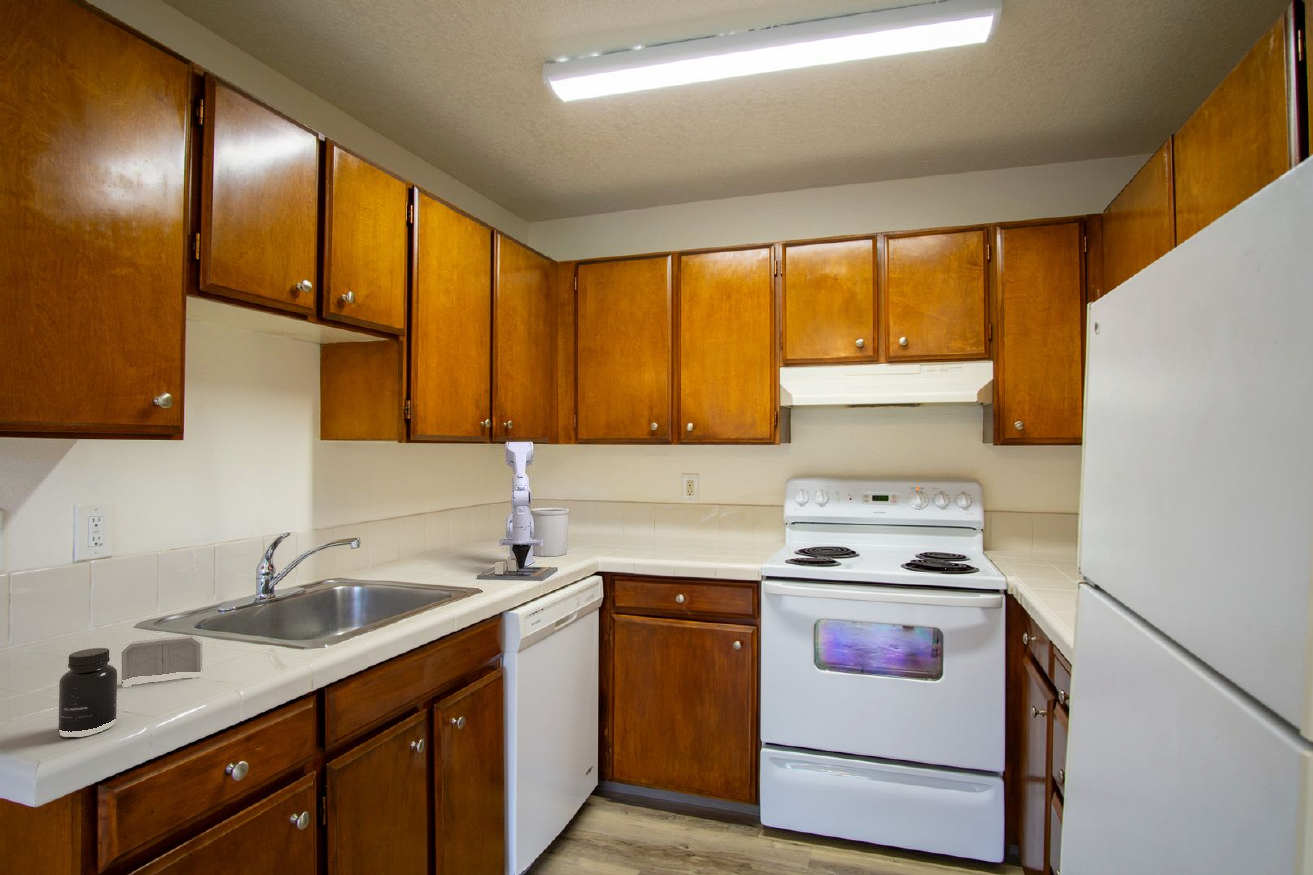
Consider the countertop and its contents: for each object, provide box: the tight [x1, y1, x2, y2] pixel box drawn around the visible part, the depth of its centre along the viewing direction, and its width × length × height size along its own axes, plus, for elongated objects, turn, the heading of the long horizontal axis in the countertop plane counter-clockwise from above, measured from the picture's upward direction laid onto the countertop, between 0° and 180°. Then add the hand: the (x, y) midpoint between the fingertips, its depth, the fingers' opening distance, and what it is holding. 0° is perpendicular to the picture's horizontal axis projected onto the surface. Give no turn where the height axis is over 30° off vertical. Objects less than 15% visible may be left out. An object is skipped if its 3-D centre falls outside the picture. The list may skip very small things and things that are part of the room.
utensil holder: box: [530, 507, 570, 557], centre depth 259 cm, size 15×15×18 cm
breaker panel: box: [476, 555, 559, 582], centre depth 218 cm, size 16×22×5 cm
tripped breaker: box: [508, 558, 519, 571], centre depth 218 cm, size 3×3×4 cm
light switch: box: [121, 634, 203, 681], centre depth 123 cm, size 2×12×8 cm, turn 114°
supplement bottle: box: [58, 647, 118, 732], centre depth 102 cm, size 7×7×12 cm
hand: (521, 567), depth 218 cm, fingers closed
